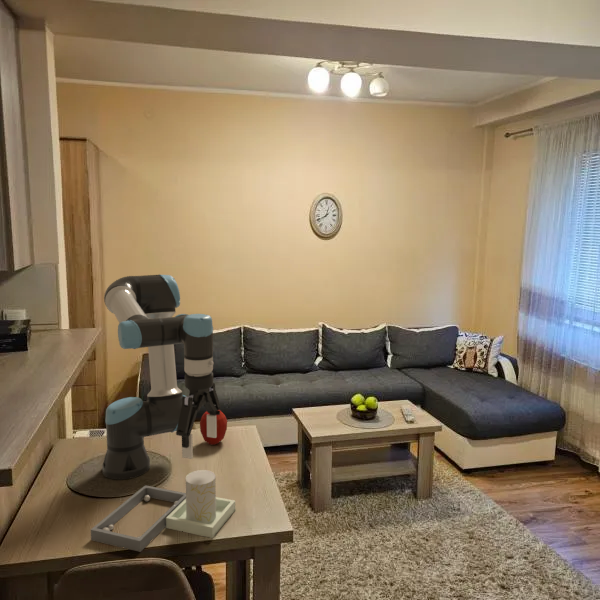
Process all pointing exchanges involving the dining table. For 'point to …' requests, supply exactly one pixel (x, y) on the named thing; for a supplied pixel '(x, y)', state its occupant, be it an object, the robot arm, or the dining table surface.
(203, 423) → the apple
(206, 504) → the cup
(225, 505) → the sage tray
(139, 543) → the gravel bin
